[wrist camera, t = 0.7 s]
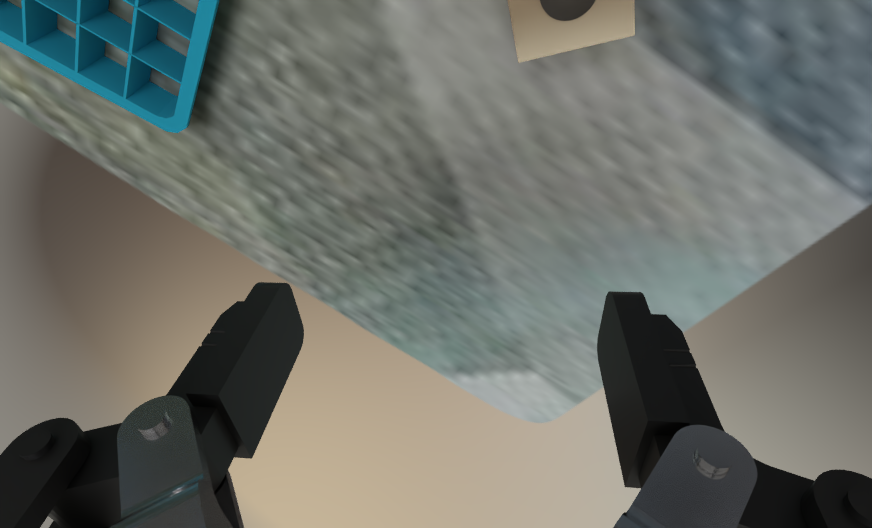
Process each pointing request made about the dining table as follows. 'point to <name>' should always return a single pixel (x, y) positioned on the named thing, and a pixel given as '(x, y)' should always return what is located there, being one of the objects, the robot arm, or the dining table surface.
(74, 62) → the ice cube tray
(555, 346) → the dining table surface
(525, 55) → the birch block
